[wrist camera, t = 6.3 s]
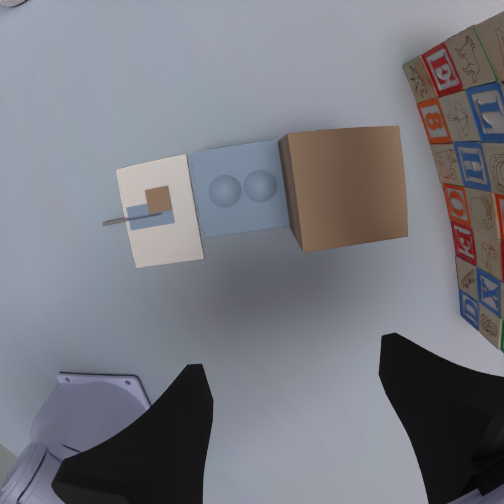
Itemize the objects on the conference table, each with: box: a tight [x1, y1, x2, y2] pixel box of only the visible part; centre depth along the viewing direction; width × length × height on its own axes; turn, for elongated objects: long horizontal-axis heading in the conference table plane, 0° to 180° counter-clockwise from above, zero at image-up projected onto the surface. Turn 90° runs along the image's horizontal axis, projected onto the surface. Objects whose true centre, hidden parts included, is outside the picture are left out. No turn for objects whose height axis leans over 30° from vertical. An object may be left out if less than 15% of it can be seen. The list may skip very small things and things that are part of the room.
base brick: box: [190, 140, 290, 238], centre depth 17 cm, size 9×4×4 cm, turn 98°
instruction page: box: [103, 154, 204, 268], centre depth 20 cm, size 7×7×1 cm
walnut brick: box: [278, 126, 408, 253], centre depth 13 cm, size 4×4×4 cm
